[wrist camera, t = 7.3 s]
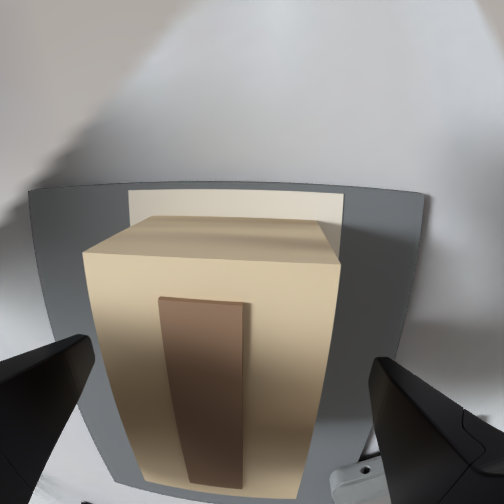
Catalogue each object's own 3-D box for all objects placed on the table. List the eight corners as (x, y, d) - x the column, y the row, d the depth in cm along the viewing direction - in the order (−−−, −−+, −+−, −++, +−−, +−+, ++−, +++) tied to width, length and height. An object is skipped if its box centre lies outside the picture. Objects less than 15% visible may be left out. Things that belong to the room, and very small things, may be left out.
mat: (335, 500, 14) (336, 507, 14) (117, 476, 15) (114, 482, 15) (418, 192, 9) (425, 194, 9) (36, 189, 10) (27, 191, 10)
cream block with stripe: (152, 215, 10) (78, 254, 6) (316, 220, 9) (342, 267, 5) (174, 407, 12) (143, 483, 8) (294, 418, 12) (295, 502, 8)
